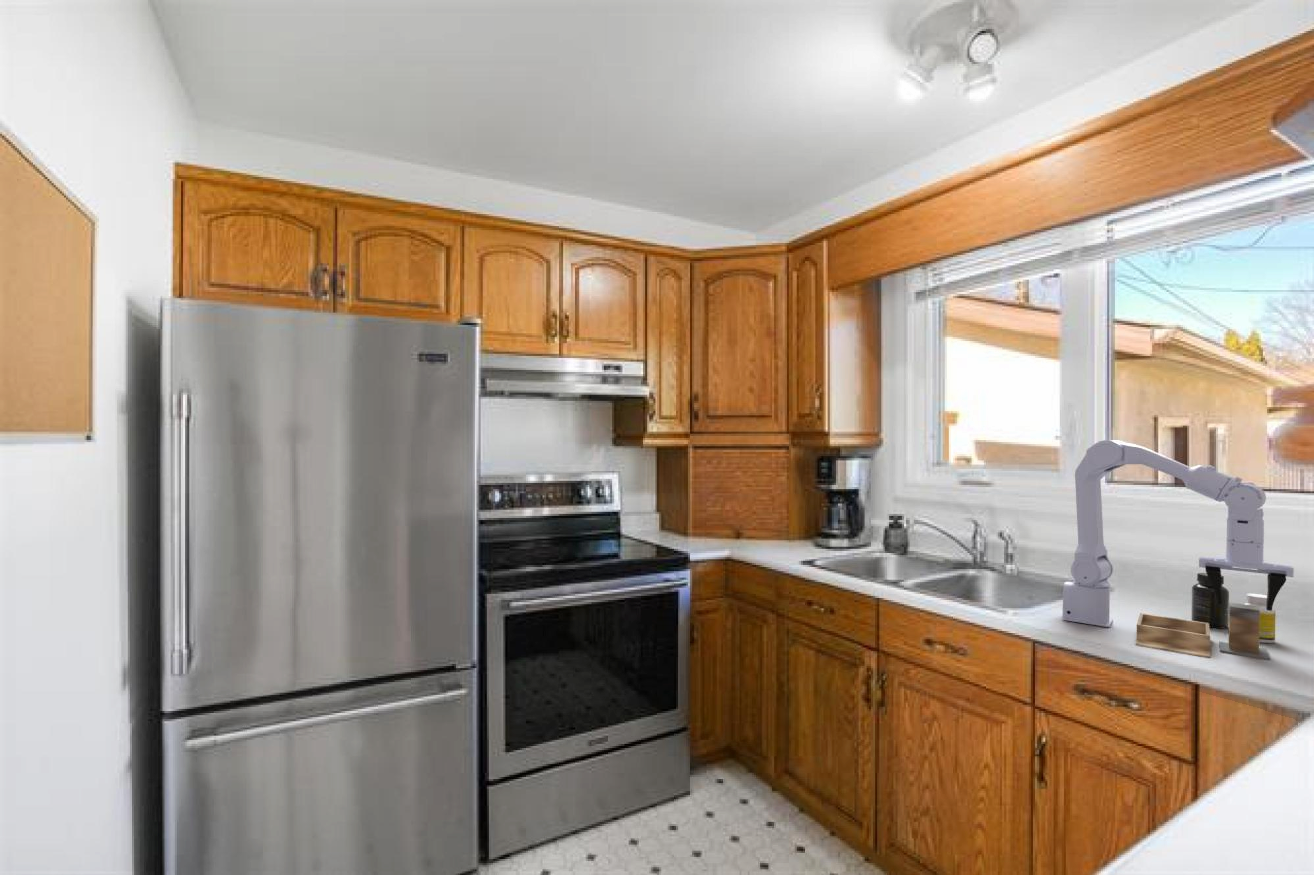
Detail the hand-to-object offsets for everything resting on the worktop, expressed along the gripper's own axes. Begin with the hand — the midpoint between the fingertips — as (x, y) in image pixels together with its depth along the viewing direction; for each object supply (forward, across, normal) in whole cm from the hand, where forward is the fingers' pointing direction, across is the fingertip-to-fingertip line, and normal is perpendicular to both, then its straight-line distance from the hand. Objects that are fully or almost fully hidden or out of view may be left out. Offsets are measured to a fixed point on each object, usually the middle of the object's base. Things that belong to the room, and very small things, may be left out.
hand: (1243, 606), depth 134 cm
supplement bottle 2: (+10, +3, +13) cm, 17 cm away
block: (+9, 0, 0) cm, 9 cm away
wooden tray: (+10, -11, 0) cm, 15 cm away
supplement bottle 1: (+10, -5, +21) cm, 24 cm away
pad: (+9, 0, 0) cm, 9 cm away
